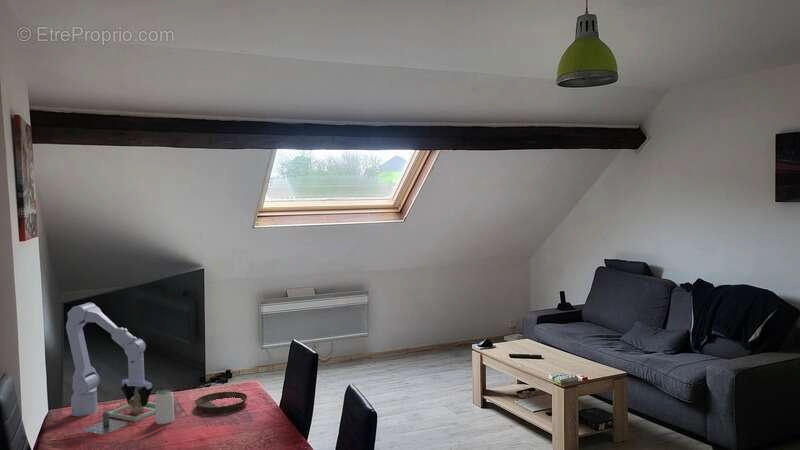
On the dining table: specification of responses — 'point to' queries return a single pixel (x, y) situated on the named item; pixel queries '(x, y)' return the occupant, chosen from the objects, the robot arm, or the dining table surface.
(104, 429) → the square base plate
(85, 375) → the robot arm
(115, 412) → the tray
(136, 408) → the sleeve
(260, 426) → the dining table surface
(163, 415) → the can
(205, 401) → the plant saucer
